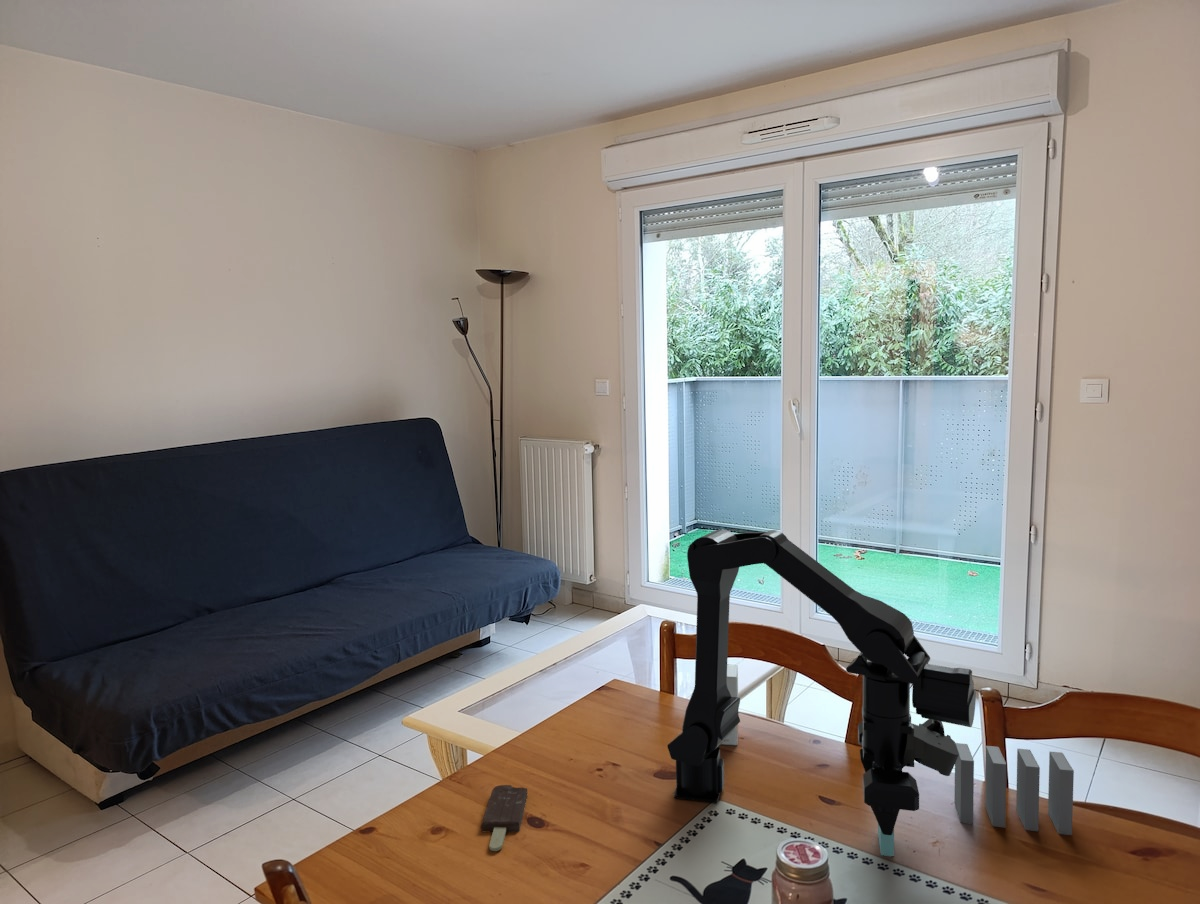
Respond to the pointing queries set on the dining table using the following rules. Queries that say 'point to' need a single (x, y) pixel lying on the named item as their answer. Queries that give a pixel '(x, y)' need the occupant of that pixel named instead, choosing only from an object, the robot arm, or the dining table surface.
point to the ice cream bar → (504, 813)
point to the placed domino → (886, 843)
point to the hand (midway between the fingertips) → (885, 822)
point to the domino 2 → (995, 786)
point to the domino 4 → (1060, 793)
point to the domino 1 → (964, 784)
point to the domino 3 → (1027, 789)
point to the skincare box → (733, 689)
